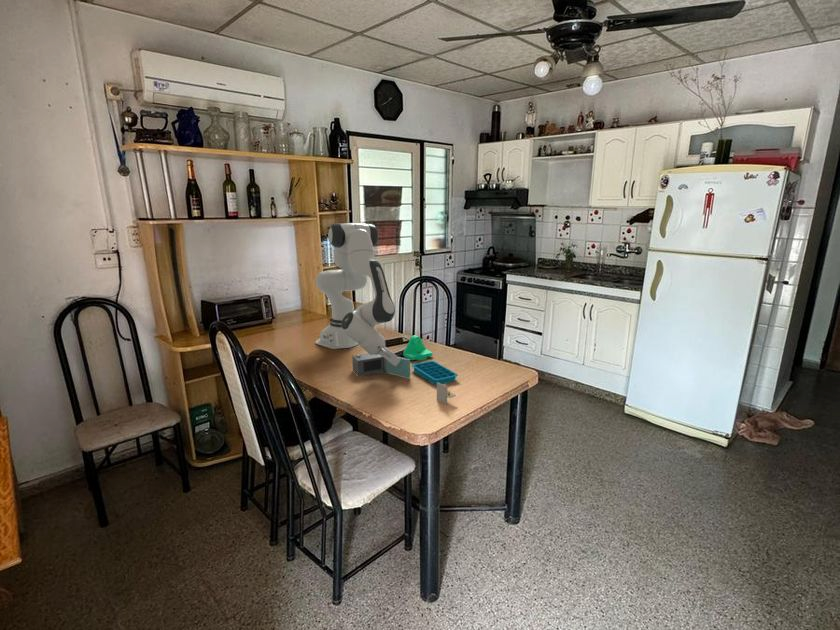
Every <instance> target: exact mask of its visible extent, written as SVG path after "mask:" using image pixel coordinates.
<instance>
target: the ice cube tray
mask: <svg viewBox="0 0 840 630" xmlns="http://www.w3.org/2000/svg"><path fill="white" fill-rule="evenodd" d="M411 367H412V368H413V371H414V373H415V372H416V373H415V374H417V375H419V376H420V377H421V378H423V379H425V380H426V381H428V382H429V383H431V384H432V385H435V386H437V382H438V383H440V384H442V385H444V384H448V383H449V384H450V383H452V382H455V381H456V378H457V377H458V373H456V372H454V371H452V370H451V369H449V368H447V367H445V365H443V364H441V363H438V362H437V361H435V360H428V361H423V362H419V363H413V364H411Z"/></svg>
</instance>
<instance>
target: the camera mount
mask: <svg viewBox="0 0 840 630" xmlns="http://www.w3.org/2000/svg"><path fill="white" fill-rule="evenodd" d="M402 356H404V357H405V358H406V359H410V361H411V360H412V361H414V360H415V361H418V362H419V361H422V360H423V361H424V360H427V359H428V358H429V357H432V356H433V352H432V351H431V350H429V349H427V348H426V346H425V345H424V343H423V340H422V337H420V336H418V335H416V334H414V335H412V336H410V337H409V341H408V343H407V344H406V347H405V348H404V351H403V355H402Z"/></svg>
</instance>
